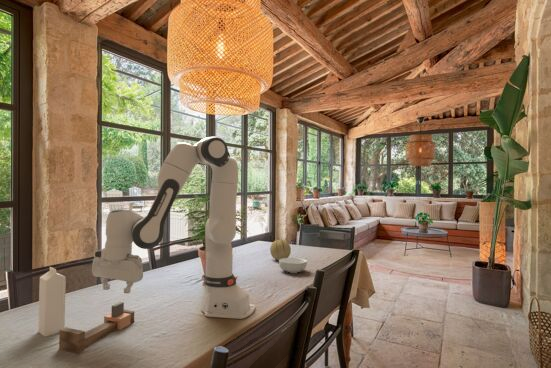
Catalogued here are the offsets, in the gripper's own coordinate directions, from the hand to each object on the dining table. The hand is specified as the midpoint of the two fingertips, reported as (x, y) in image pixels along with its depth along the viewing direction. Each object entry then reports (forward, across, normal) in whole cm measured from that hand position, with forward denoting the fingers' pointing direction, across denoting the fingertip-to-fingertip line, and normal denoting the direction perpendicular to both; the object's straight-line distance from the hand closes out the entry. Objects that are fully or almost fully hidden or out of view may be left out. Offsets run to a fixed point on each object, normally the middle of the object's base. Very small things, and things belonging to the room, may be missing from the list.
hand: (116, 291), depth 115 cm
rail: (+13, -1, +6) cm, 14 cm away
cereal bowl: (+11, -41, -96) cm, 105 cm away
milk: (+13, +17, +10) cm, 24 cm away
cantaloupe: (+11, -25, -122) cm, 125 cm away
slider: (+13, -1, 0) cm, 13 cm away
